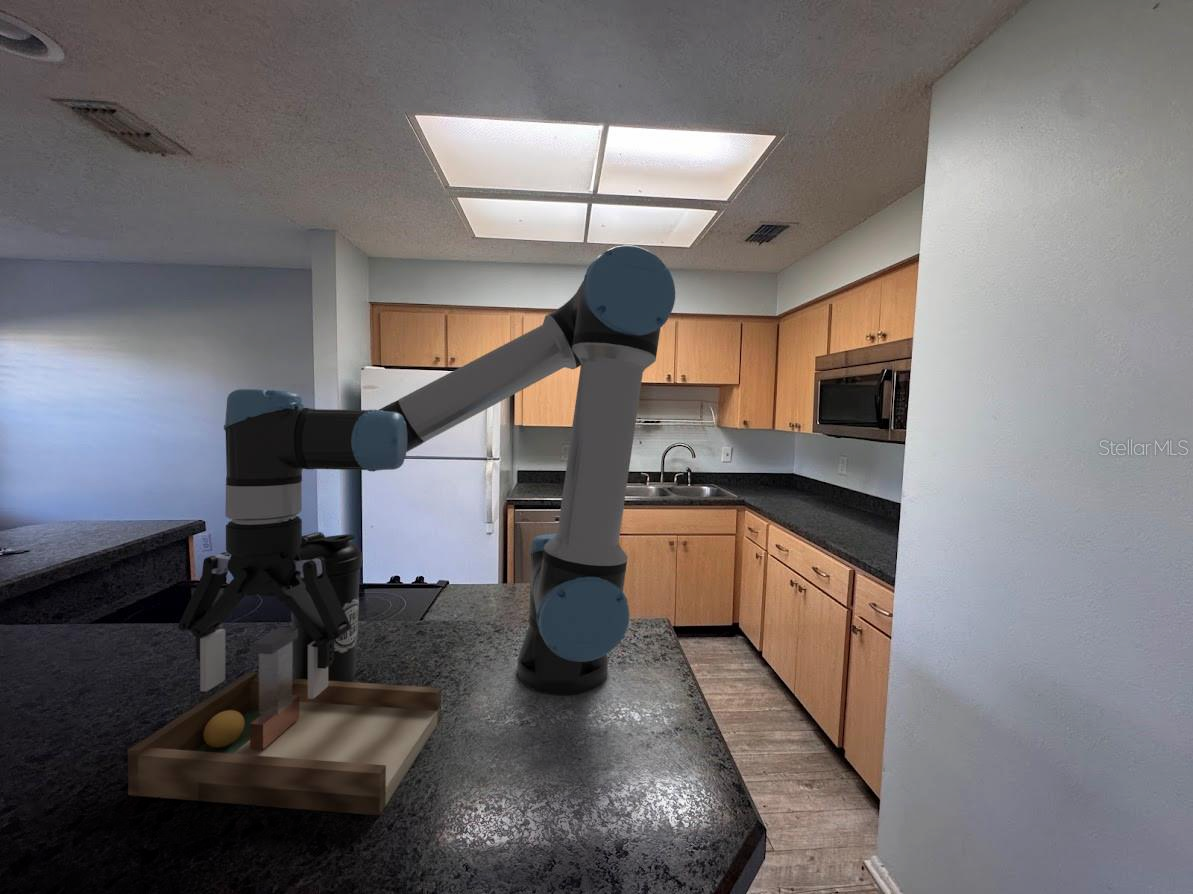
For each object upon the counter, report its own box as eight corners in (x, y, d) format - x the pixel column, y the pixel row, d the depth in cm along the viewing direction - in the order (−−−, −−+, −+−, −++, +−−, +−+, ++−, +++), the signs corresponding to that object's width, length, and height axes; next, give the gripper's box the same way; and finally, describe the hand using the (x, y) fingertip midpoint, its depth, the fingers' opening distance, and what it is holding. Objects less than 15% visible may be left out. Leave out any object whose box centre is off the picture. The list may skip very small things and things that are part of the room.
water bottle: (328, 702, 68) (329, 545, 67) (270, 692, 70) (270, 540, 69) (375, 667, 78) (376, 531, 77) (322, 659, 80) (323, 526, 79)
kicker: (302, 718, 60) (302, 625, 60) (266, 749, 54) (266, 647, 54) (284, 716, 60) (284, 624, 60) (246, 748, 54) (246, 646, 54)
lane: (440, 719, 64) (441, 684, 64) (379, 815, 48) (379, 768, 48) (248, 706, 66) (248, 672, 66) (128, 795, 50) (127, 749, 50)
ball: (217, 721, 60) (241, 740, 60) (188, 741, 56) (213, 762, 56) (234, 697, 60) (258, 716, 59) (206, 715, 56) (231, 736, 55)
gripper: (380, 516, 59) (379, 678, 60) (196, 508, 61) (197, 667, 62) (345, 528, 52) (344, 714, 53) (136, 519, 53) (138, 700, 54)
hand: (265, 689), depth 57 cm, fingers open, 13 cm apart
